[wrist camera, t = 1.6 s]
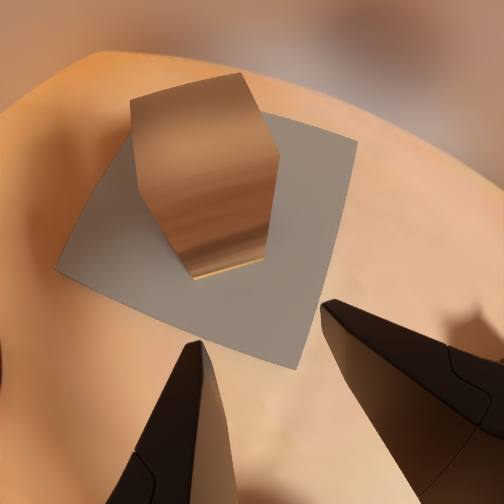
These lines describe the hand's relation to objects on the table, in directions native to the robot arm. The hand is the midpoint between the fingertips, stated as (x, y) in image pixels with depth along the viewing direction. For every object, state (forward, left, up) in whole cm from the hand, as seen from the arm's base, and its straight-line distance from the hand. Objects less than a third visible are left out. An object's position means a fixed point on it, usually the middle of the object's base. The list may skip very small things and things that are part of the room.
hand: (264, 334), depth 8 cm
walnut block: (+6, +5, -13) cm, 15 cm away
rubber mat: (+9, +7, -14) cm, 18 cm away
